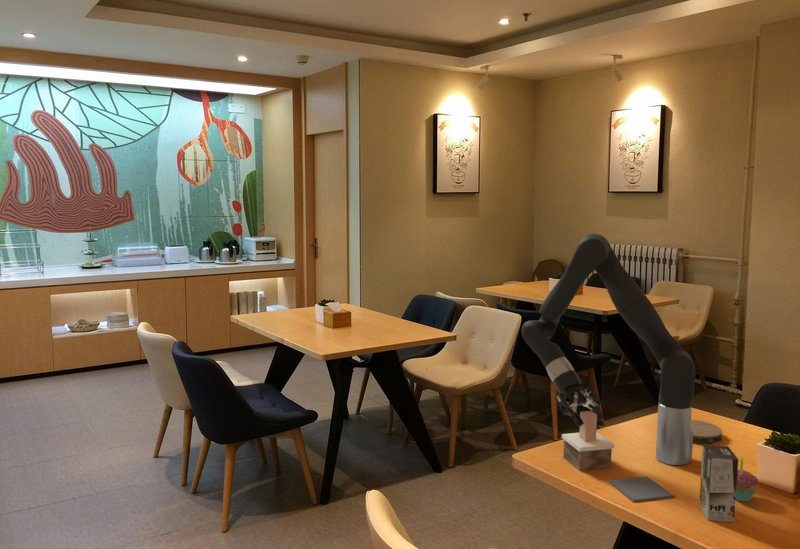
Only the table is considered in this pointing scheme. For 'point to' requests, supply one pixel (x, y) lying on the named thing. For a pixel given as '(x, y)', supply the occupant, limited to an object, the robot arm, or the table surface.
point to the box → (587, 458)
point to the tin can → (705, 432)
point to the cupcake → (745, 484)
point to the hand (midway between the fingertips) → (591, 422)
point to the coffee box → (718, 483)
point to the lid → (588, 435)
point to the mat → (641, 489)
